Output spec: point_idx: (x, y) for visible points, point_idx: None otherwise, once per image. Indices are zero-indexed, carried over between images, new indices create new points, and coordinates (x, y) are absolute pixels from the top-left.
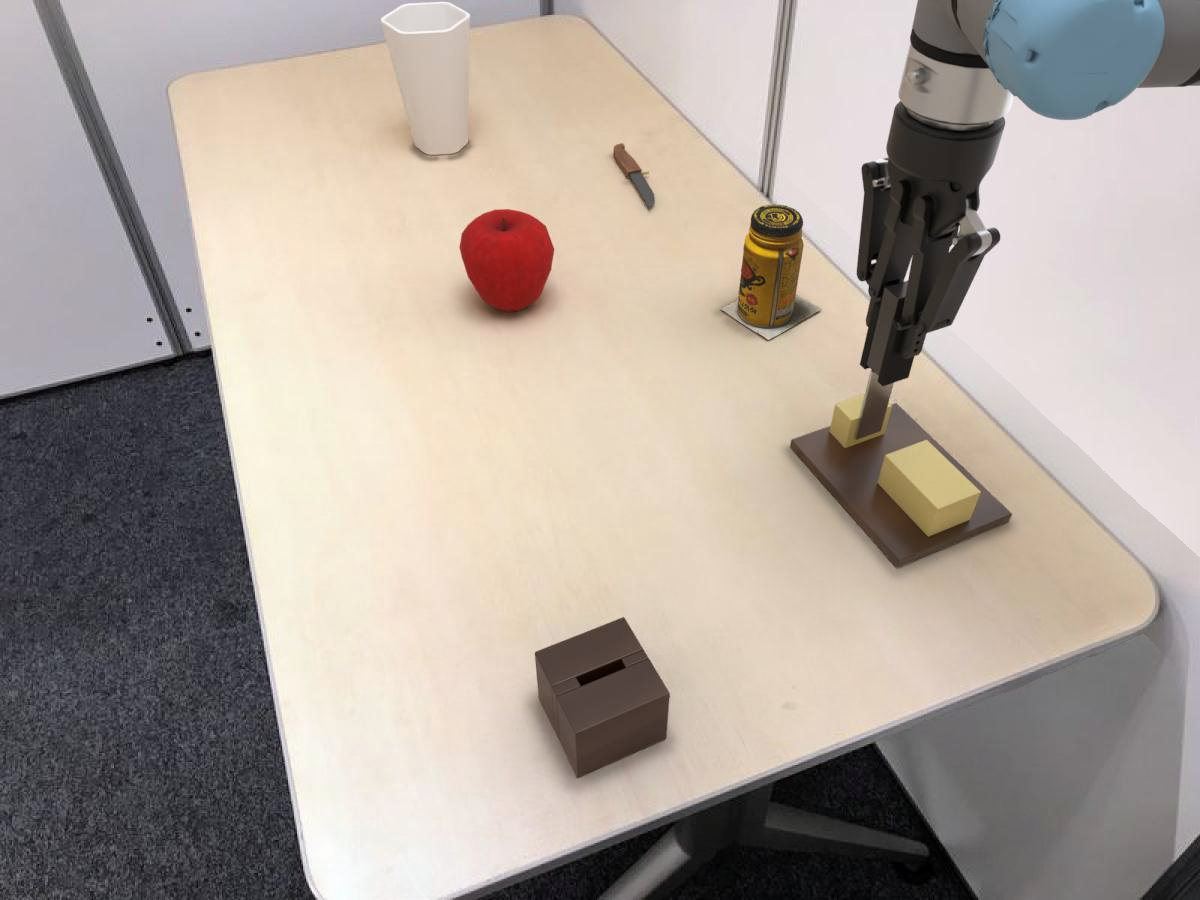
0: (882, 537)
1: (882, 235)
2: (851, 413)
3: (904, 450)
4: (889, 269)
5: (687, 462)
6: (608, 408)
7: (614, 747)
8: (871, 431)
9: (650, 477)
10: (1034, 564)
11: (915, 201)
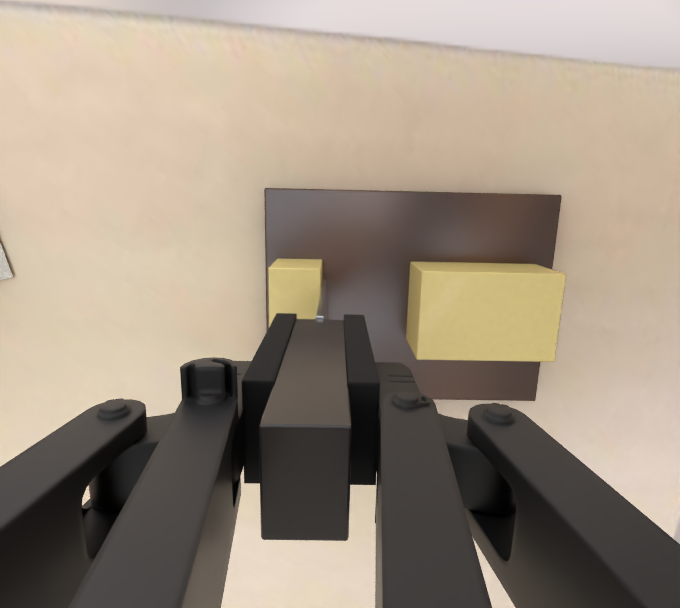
0: (492, 395)
1: (11, 599)
2: None
3: (424, 324)
4: (223, 570)
5: (235, 524)
6: None
7: None
8: (327, 301)
9: (240, 574)
10: (629, 222)
11: None
